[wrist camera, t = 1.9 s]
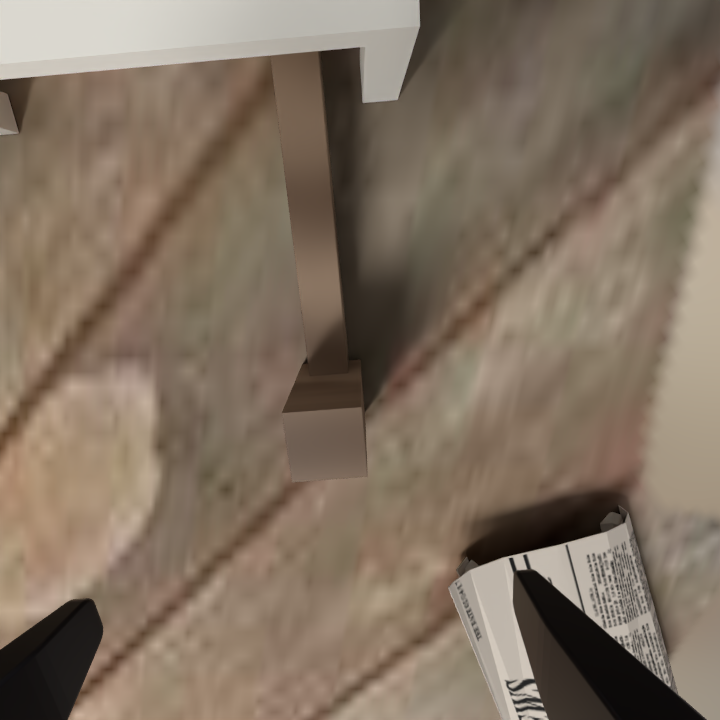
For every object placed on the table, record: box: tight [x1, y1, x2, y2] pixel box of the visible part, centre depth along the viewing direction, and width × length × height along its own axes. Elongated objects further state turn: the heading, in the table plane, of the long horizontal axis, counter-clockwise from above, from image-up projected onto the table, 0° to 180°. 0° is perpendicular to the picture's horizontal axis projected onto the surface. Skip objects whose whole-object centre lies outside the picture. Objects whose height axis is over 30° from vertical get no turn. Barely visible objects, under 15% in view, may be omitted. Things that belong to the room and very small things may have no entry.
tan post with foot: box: [270, 51, 368, 482], centre depth 16 cm, size 20×7×6 cm, turn 5°
